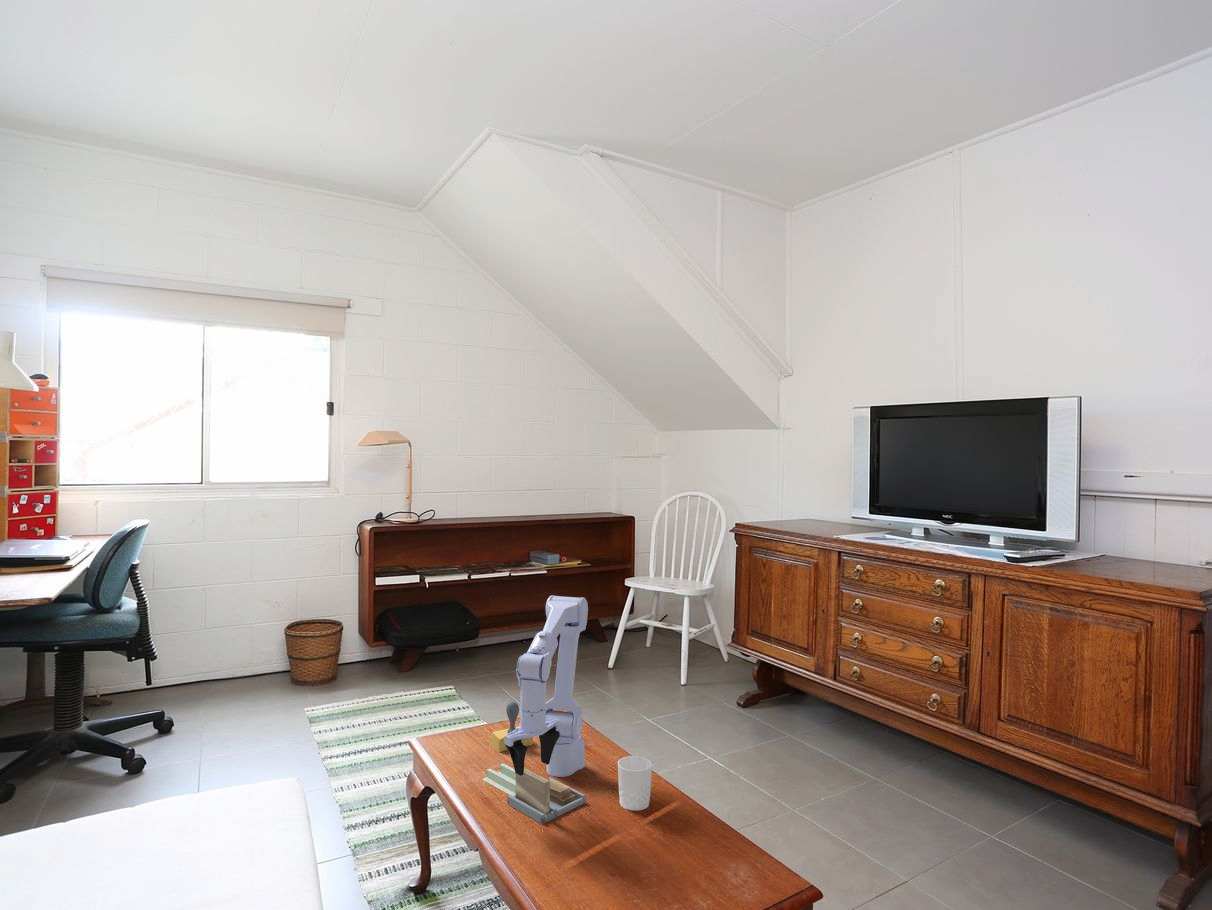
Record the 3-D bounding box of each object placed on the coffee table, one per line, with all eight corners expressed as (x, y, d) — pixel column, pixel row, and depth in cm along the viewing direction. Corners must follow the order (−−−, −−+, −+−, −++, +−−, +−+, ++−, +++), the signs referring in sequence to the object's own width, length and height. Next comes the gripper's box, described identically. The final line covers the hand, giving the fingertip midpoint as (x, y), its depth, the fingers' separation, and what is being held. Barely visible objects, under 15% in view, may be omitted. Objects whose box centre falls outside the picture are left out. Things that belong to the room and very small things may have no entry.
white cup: (656, 802, 165) (657, 759, 165) (644, 818, 158) (644, 773, 158) (625, 795, 168) (625, 753, 168) (611, 810, 161) (612, 766, 161)
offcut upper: (550, 785, 168) (551, 779, 168) (570, 792, 164) (570, 786, 164) (541, 790, 166) (541, 784, 166) (560, 798, 162) (560, 792, 162)
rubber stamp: (499, 752, 191) (499, 708, 191) (491, 744, 196) (491, 701, 196) (533, 745, 196) (533, 701, 196) (524, 737, 201) (525, 695, 201)
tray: (550, 788, 171) (550, 777, 171) (585, 806, 163) (585, 794, 163) (507, 807, 162) (507, 796, 162) (542, 827, 154) (542, 815, 154)
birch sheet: (520, 800, 163) (520, 766, 163) (549, 817, 156) (549, 780, 156) (515, 803, 162) (515, 768, 162) (544, 819, 155) (544, 783, 155)
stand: (507, 771, 180) (507, 761, 180) (538, 788, 171) (538, 777, 171) (481, 782, 174) (481, 771, 174) (512, 799, 165) (512, 788, 165)
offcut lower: (552, 789, 169) (552, 783, 169) (575, 801, 163) (575, 795, 163) (540, 794, 166) (540, 788, 166) (563, 807, 161) (563, 801, 161)
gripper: (545, 695, 167) (545, 752, 167) (496, 711, 157) (495, 772, 157) (566, 703, 162) (565, 762, 162) (516, 720, 152) (515, 783, 152)
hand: (532, 768), depth 159 cm, fingers open, 7 cm apart
